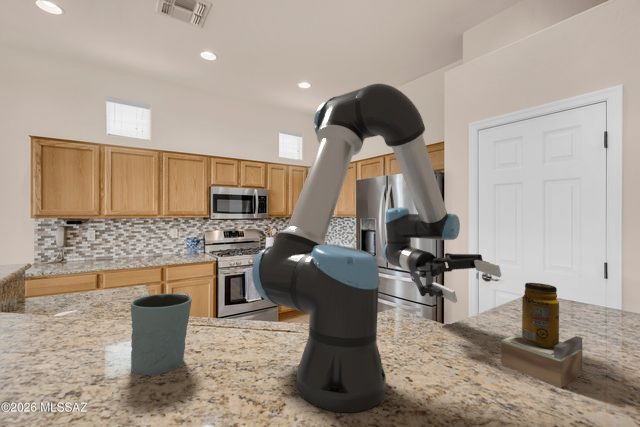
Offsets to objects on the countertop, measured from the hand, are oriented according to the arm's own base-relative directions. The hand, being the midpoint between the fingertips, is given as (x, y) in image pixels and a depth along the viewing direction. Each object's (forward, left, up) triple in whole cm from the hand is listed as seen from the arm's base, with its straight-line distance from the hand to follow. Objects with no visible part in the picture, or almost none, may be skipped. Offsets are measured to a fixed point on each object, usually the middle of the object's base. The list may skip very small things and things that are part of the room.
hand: (477, 283), depth 66 cm
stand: (+5, -11, -16) cm, 19 cm away
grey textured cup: (-61, +26, -16) cm, 68 cm away
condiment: (+4, -10, -11) cm, 15 cm away
